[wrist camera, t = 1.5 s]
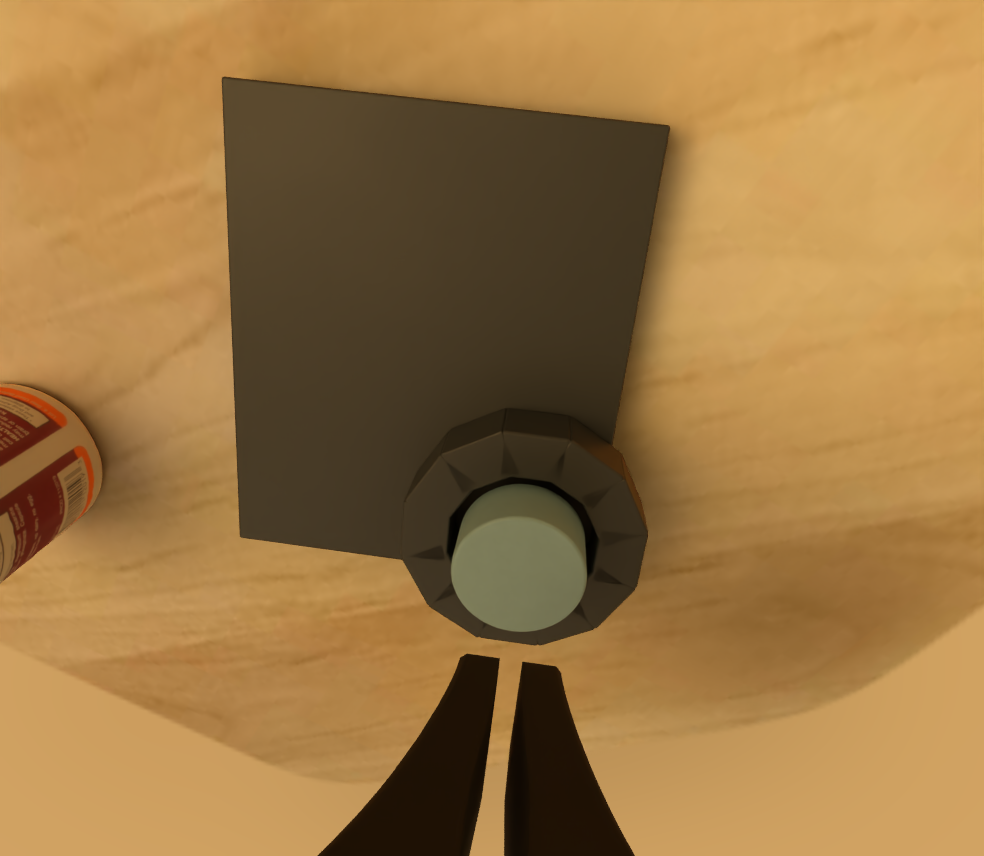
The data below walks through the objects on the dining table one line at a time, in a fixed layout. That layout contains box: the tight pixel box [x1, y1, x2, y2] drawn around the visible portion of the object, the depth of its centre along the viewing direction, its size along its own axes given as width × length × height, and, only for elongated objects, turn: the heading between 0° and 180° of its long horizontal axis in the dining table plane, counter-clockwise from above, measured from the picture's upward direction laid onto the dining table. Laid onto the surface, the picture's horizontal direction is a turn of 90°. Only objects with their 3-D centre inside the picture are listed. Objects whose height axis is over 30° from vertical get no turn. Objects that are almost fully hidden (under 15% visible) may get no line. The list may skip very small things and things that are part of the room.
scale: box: [222, 77, 670, 645], centre depth 18 cm, size 13×11×3 cm
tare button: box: [451, 484, 587, 632], centre depth 18 cm, size 3×3×2 cm
